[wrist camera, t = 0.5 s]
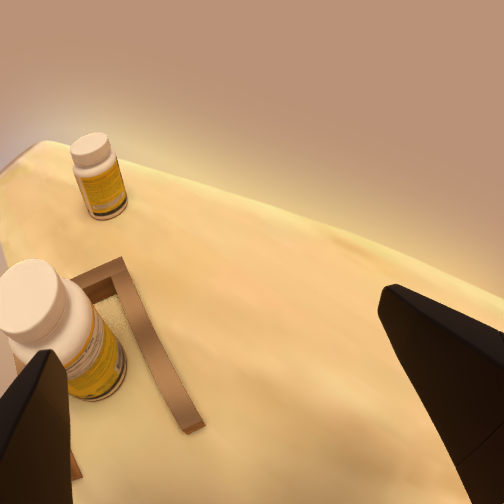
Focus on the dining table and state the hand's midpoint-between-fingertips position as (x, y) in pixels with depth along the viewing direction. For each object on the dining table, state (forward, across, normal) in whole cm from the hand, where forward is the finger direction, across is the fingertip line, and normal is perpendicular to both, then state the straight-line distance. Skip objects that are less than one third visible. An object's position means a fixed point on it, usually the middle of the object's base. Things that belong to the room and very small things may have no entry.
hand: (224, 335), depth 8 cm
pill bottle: (+11, +10, +13) cm, 20 cm away
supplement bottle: (+29, +9, +7) cm, 31 cm away
